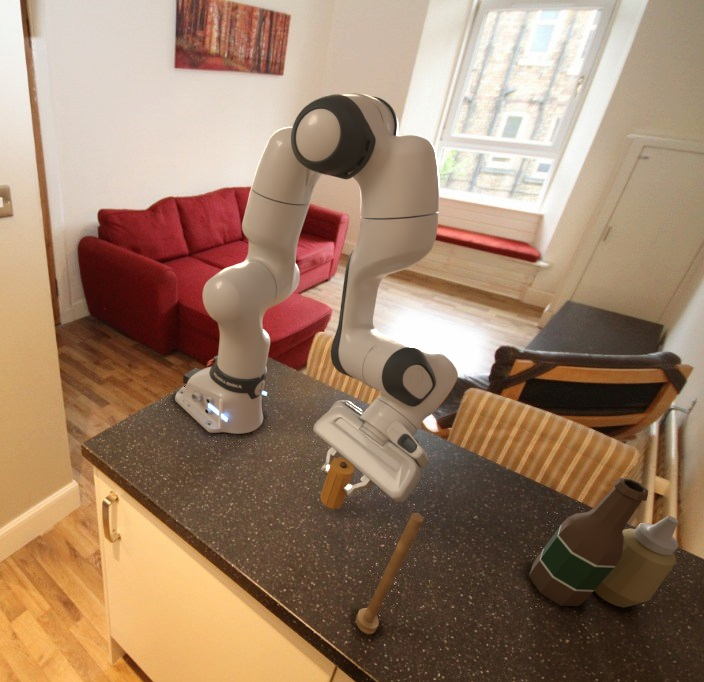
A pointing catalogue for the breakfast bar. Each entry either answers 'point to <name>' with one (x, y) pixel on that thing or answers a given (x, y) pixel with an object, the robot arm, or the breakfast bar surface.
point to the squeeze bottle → (641, 564)
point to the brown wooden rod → (388, 576)
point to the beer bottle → (586, 546)
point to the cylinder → (336, 483)
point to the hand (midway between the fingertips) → (335, 483)
